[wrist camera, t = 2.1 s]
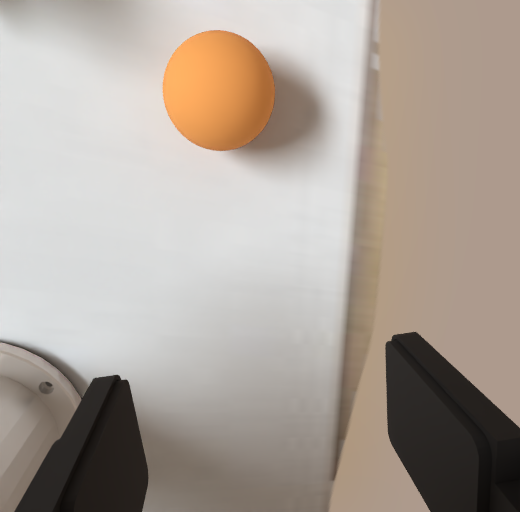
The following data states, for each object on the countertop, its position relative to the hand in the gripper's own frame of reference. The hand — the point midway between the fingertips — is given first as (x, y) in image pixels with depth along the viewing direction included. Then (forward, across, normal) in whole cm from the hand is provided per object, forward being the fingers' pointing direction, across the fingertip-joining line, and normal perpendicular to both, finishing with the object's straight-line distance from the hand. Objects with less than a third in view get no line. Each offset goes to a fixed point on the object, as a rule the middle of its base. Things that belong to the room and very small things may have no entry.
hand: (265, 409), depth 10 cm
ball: (+13, 0, -9) cm, 16 cm away
